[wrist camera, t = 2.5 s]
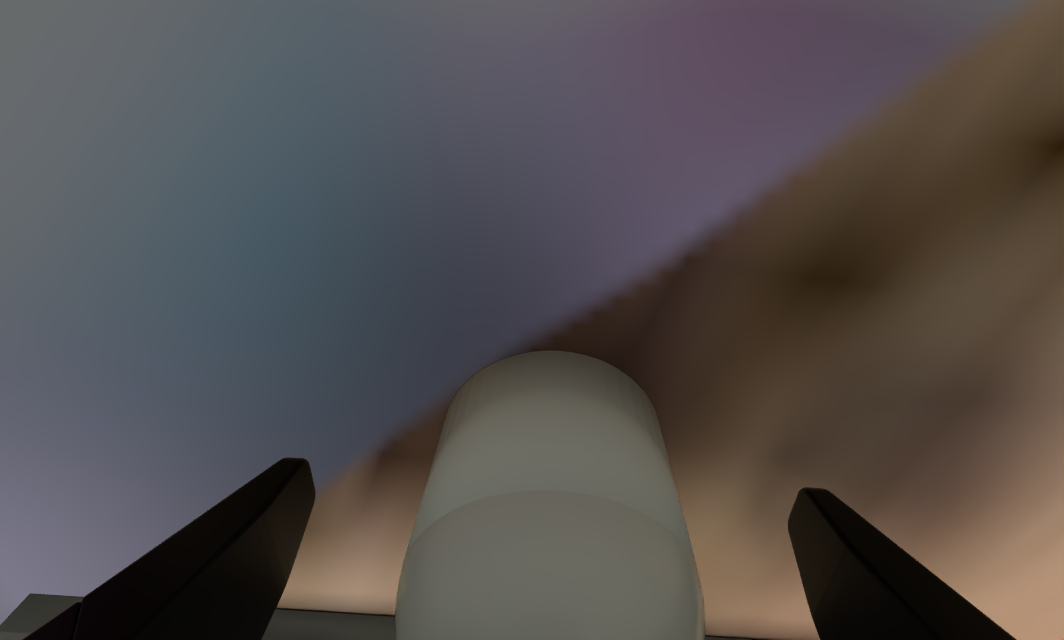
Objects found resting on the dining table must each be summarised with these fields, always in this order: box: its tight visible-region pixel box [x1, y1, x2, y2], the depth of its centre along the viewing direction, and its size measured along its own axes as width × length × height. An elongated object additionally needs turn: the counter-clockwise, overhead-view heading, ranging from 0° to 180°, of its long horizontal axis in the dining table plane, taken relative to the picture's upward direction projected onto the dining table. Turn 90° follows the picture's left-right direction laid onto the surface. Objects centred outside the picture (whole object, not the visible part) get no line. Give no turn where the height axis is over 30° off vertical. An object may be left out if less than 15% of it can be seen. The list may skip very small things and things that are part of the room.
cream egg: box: [395, 351, 705, 640], centre depth 8 cm, size 4×4×6 cm
